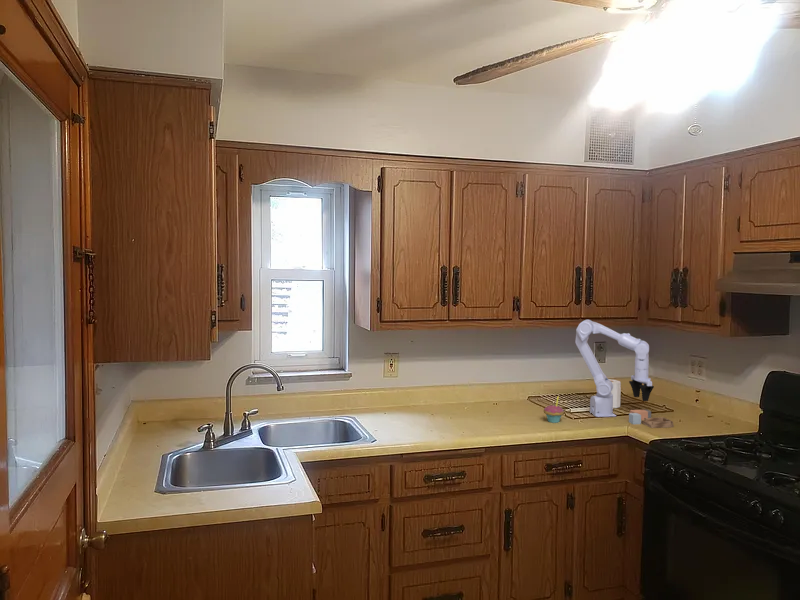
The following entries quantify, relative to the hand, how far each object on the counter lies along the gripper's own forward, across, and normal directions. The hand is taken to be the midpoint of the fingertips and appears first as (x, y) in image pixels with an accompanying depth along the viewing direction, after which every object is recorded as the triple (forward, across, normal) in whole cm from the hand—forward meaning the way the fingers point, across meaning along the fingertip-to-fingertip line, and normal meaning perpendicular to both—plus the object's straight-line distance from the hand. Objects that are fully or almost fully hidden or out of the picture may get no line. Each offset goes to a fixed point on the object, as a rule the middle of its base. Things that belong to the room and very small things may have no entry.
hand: (640, 398), depth 261 cm
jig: (+9, -10, -2) cm, 14 cm away
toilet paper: (+9, +24, +3) cm, 26 cm away
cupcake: (+9, 0, +40) cm, 41 cm away
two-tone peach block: (+9, 0, 0) cm, 9 cm away
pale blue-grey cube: (+9, -6, +6) cm, 13 cm away
